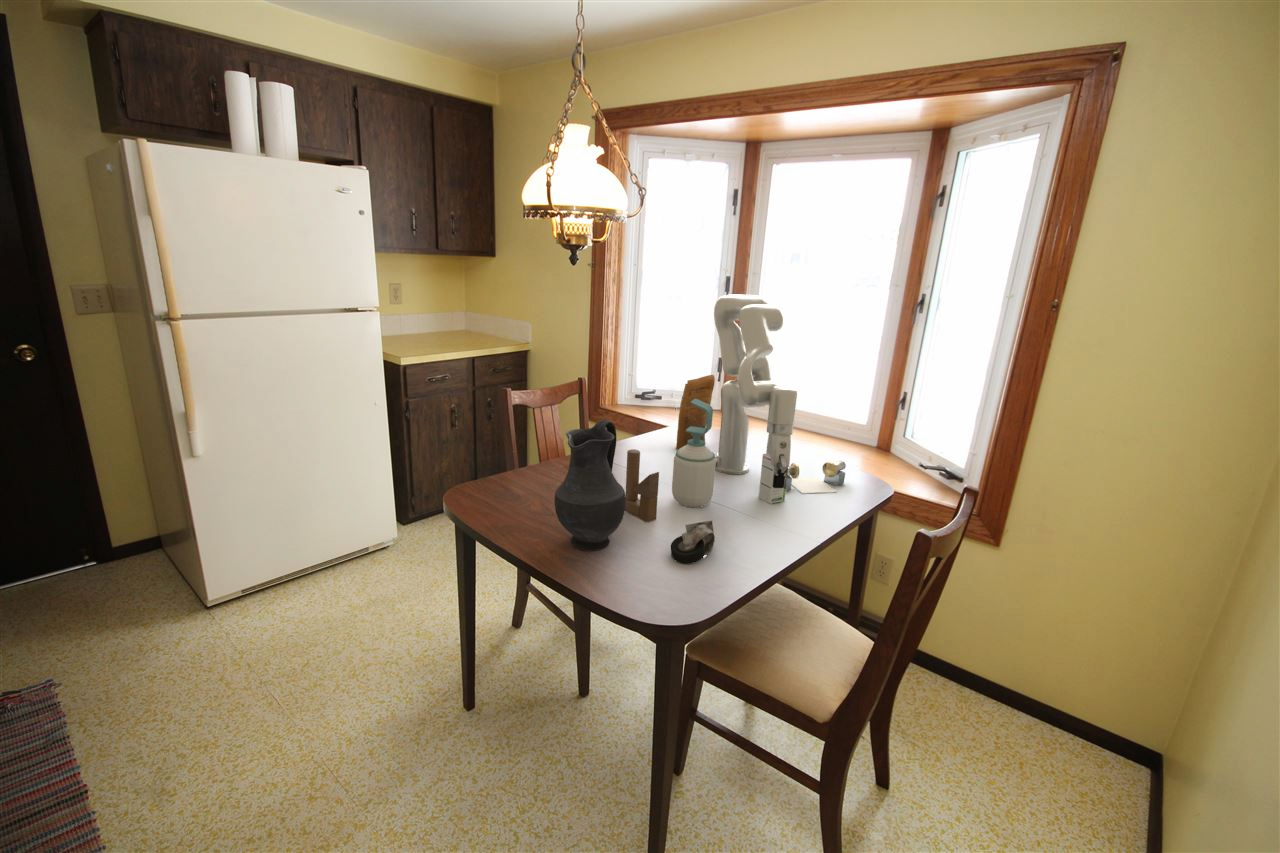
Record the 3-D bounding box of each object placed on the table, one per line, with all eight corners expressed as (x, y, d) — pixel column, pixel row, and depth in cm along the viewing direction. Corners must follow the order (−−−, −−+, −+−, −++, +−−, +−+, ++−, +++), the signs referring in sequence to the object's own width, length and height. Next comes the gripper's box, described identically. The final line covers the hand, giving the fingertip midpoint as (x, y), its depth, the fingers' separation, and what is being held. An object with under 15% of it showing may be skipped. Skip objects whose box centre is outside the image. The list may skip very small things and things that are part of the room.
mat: (801, 493, 176) (802, 493, 176) (785, 479, 187) (785, 478, 187) (836, 492, 178) (836, 491, 178) (818, 478, 190) (818, 477, 189)
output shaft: (833, 487, 182) (837, 464, 180) (820, 482, 186) (823, 460, 183) (846, 482, 187) (849, 460, 185) (832, 478, 191) (835, 456, 188)
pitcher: (542, 549, 135) (541, 431, 127) (581, 515, 154) (583, 411, 145) (606, 565, 129) (610, 443, 121) (639, 528, 148) (644, 420, 139)
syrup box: (770, 504, 167) (775, 459, 163) (757, 497, 172) (762, 452, 168) (784, 501, 170) (790, 456, 165) (771, 494, 175) (777, 450, 170)
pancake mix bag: (715, 444, 221) (721, 375, 213) (681, 453, 209) (686, 380, 201) (702, 440, 226) (708, 372, 218) (669, 448, 214) (673, 377, 206)
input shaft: (774, 490, 178) (777, 467, 175) (768, 484, 182) (770, 461, 180) (797, 489, 179) (800, 466, 177) (790, 483, 184) (793, 460, 182)
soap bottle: (678, 490, 174) (684, 394, 165) (716, 498, 170) (725, 399, 161) (665, 505, 163) (672, 402, 154) (706, 513, 159) (715, 408, 150)
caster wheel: (674, 573, 132) (670, 547, 141) (721, 566, 132) (714, 540, 141) (670, 551, 129) (667, 526, 138) (718, 543, 129) (711, 518, 138)
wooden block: (647, 523, 151) (650, 461, 146) (621, 509, 159) (623, 450, 154) (656, 519, 154) (660, 458, 149) (631, 506, 161) (633, 447, 156)
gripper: (801, 436, 156) (794, 493, 161) (784, 420, 173) (778, 472, 177) (774, 435, 156) (768, 492, 160) (760, 419, 172) (755, 471, 177)
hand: (773, 481), depth 169 cm, fingers open, 9 cm apart
